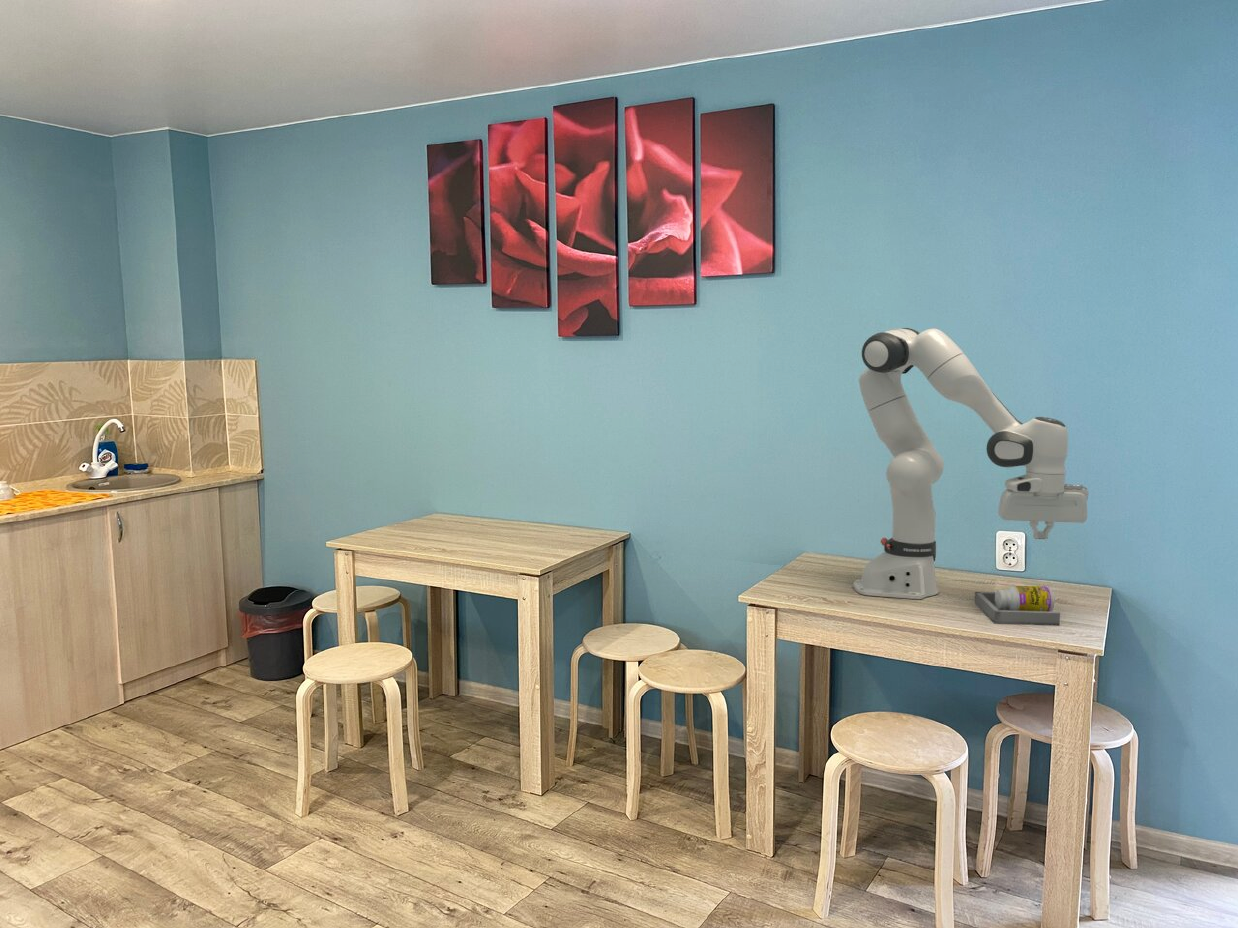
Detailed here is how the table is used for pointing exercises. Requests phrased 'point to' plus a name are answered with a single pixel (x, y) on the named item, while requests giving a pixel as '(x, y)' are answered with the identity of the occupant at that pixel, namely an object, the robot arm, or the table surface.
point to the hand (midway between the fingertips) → (1040, 538)
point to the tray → (1013, 612)
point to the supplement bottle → (1026, 598)
